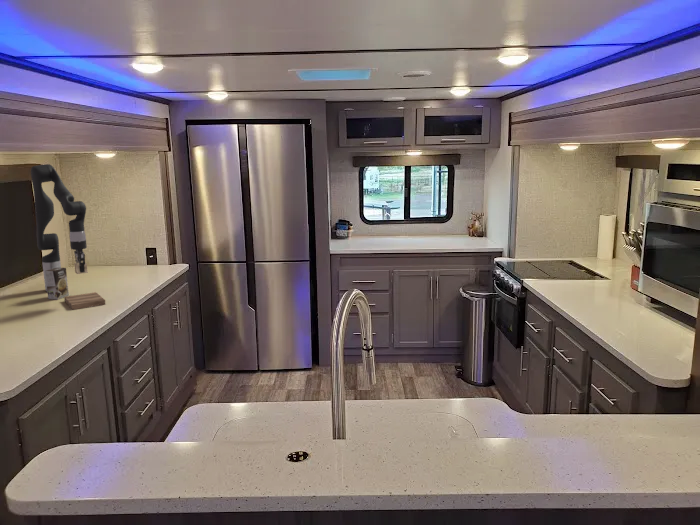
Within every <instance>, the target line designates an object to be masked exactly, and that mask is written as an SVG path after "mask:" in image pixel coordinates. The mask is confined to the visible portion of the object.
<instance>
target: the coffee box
mask: <svg viewBox="0 0 700 525" xmlns="http://www.w3.org/2000/svg"><path fill="white" fill-rule="evenodd" d="M45 273H46V283H47V291H46V293H47V299H49V300H60V299H64V297H66V296H70V295H69V294H70V293H69V286H68V285H69V283H68V276H67V268H66V267H61V268H53V269H50V270H46V271H45Z"/></svg>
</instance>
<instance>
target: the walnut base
mask: <svg viewBox="0 0 700 525" xmlns="http://www.w3.org/2000/svg"><path fill="white" fill-rule="evenodd" d="M63 299H64V303H66V305H67V306H68V307H69V308H70V309H71V310H73V311H74V310H78V309H79V310H80V309H85V307H86V308H92V307H98V306H103V305H104V306H105V305H106V299H105V298H104V297H102V296H101V295H100V294H99V293H98V292H96V291H95V292H89V293H87V292H86V293H80V294H74V295H69V296H66V297H63ZM91 306H92V307H91Z"/></svg>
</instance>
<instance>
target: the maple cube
mask: <svg viewBox="0 0 700 525" xmlns="http://www.w3.org/2000/svg"><path fill="white" fill-rule="evenodd" d="M82 262H83V261H82ZM82 262H81V263H82ZM84 269H85V272H82V273H81V272H80V267H79V263H76V262H74V273H75V274H76V275H80V274H87V273H88V264H87V262H85V265H84Z"/></svg>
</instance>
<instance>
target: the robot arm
mask: <svg viewBox="0 0 700 525" xmlns="http://www.w3.org/2000/svg"><path fill="white" fill-rule="evenodd" d="M30 176H31V182H32V189H33V195H34V198H33V199H34V212H35V213H34V215H35V221H36V246H37V249H38V250H39V251H50V250H51V252H50V253H48V254H46V255H44V256H42V257H41V262H42V271H43V280H44V281H43V282H44V289H45V292H47V283H46V273H45V271H46V270H50V269H53V268H62V267H61V266H62V264H61V263H62V262H61V256H60V242H59V237H58V234H57V233H53V232H52V233H45V230H46V228H47V226H49V223H51V221H52V220H53V218H54V215H55V206H54V201H53V200H52V199H51V197H50V196H49V195H47V194H46V193H45V191H44V189H43V186H42V184H43V183H44V184H45V183H49V182H53V185H54V186H53V190H52V191H53V195H54V197H55V198H56V200H57V201H58V202H59V203H60V205H61V207H62V210H63V212H64V214H66V215H67V216H69V217H70V216H71V217H72V216H75V218H74V219H71V220H69V222H68V227H69V228H68V229H69V243H70V249H71V250H73V253H74V258H75V259H74V260H75V261H74V262H75V263H79V267H80V272H81V273H82V272H85V269H84V265H85V263H86V255H85V252H84V251H83V250H85V249H87V247H88V246H87V237H86V232H85V231H86V230H85V218H86V213H87V206H86V204H85V203H84V201H81V200H78V201H76V200H75V197H74V195H73V194H72V193H71V192H70V190H68V188H67V187H66V186H65V183H64V182H63V181H62V179H61V176H60V175H59V174H58V172H57V170H56V169H55V167H54V166H53V165H51V164H49V163H48V164H39V165H34V166H31V168H30ZM81 262H82V263H81ZM82 274H83V273H82Z"/></svg>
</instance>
